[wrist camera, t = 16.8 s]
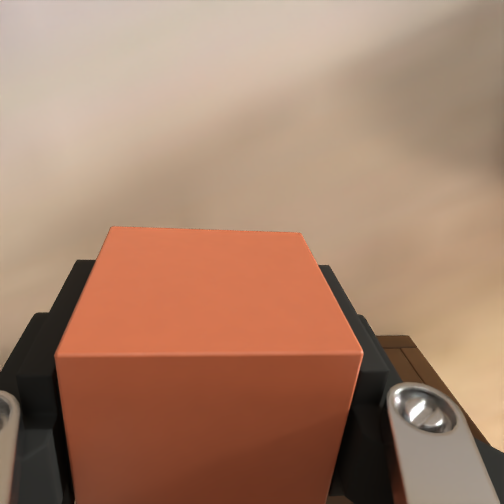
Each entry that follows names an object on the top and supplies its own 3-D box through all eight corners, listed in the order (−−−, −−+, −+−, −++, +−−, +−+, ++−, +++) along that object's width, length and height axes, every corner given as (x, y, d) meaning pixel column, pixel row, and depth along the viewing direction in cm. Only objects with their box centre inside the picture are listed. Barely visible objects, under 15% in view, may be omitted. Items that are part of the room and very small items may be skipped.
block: (110, 225, 10) (51, 354, 6) (301, 231, 11) (365, 352, 7) (119, 376, 12) (80, 549, 8) (280, 373, 12) (319, 533, 9)
